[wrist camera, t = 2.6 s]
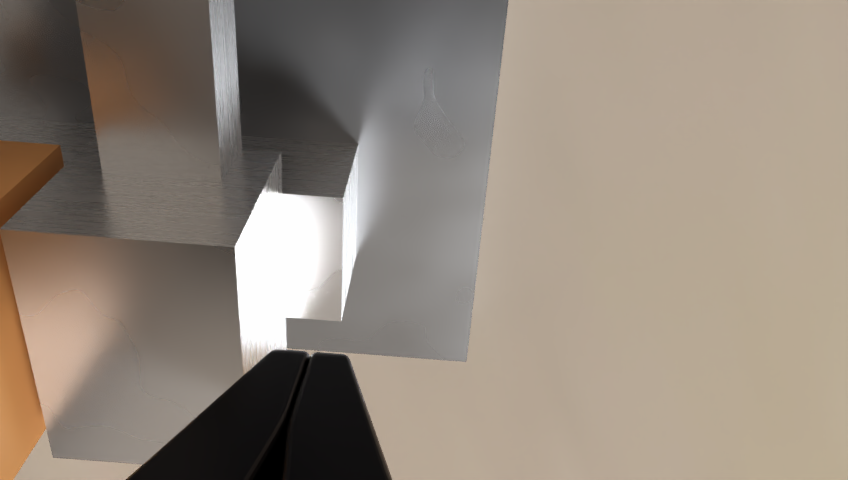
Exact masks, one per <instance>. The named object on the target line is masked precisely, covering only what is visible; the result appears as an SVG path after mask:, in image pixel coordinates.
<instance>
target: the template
mask: <svg viewBox="0 0 848 480" xmlns="http://www.w3.org/2000/svg"><path fill="white" fill-rule="evenodd" d="M507 7H508V0H0V140H2V141H15V142H28V143H41V144H54V145H60V146H61V152H62V157H63V163H64V167H63V168H62V169H61V170H60V171H59V172H58V173H57V174H56V175H55V176H54V177H53V178H52V179H51V180H50V181H48V182H47V183H46V184H45V185H44V186H43V187H42V188H41V189H40V190H39V191H38V192H37V193H36V194H35V195H34V196H33V197H32V198H31V199H30V200H29V201H28V202H27V203H26V204H25V205H24V206H23V207H22V208H21V209H20V210H19V211H18V212H17V213H16V214H14V215H13V216H12V217H11V218H10V219H9V220H8V221H7V222H6V223H5V224H4V225H3V226H2V227H1V228H0V235H1V239H2V243H3V248H4V252H5V256H6V260H7V265H8V269H9V273H10V277H11V281H12V286H13V290H14V294H15V298H16V303H17V307H18V311H19V315H20V320H21V324H22V328H23V332H24V336H25V341H26V345H27V349H28V353H29V358H30V362H31V366H32V370H33V375H34V379H35V383H36V387H37V392H38V396H39V400H40V404H41V408H42V413H43V417H44V421H45V425H46V430H47V434H48V438H49V442H50V447H51V451H52V455H53V458H66V459H79V460H92V461H105V462H118V463H131V464H144V463H145V462H146V461H147V460H149V459H150V458H151V457H152V456H153V455H154V454H155V453H156V452H158V451H159V450H160V449H161V448H162V447H163V446H164V445H165V444H167V443H168V442H169V441H170V440H171V439H172V438H173V437H174V436H176V435H177V434H178V433H179V432H180V431H181V430H182V429H183V428H185V427H186V426H187V425H188V424H189V423H190V422H191V421H192V420H194V419H195V418H196V417H197V416H198V415H199V414H200V413H201V412H203V411H204V410H205V409H206V408H207V407H208V406H209V405H210V404H212V403H213V402H214V401H215V400H216V399H217V398H218V397H219V396H221V395H222V394H223V393H224V392H225V391H226V390H227V389H228V388H230V387H231V386H232V385H233V384H234V383H235V382H236V381H237V380H239V379H240V378H241V377H242V376H243V375H244V374H245V373H246V372H248V371H249V370H250V369H251V368H252V367H253V366H254V365H255V364H257V363H258V362H259V361H260V360H261V359H262V358H263V357H264V356H266V355H267V354H268V353H269V352H270V351H272V350H276V349H282V350H287V348H292V349H305V350H318V351H332V352H345V353H358V354H371V355H384V356H397V357H410V358H423V359H436V360H449V361H462V362H466V361H467V352H468V343H469V335H470V326H471V318H472V309H473V300H474V292H475V283H476V274H477V266H478V257H479V249H480V240H481V231H482V223H483V214H484V206H485V197H486V188H487V180H488V171H489V162H490V154H491V145H492V137H493V128H494V119H495V111H496V102H497V94H498V85H499V76H500V68H501V59H502V50H503V42H504V33H505V25H506V16H507Z"/></svg>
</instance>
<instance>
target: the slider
mask: <svg viewBox="0 0 848 480" xmlns="http://www.w3.org/2000/svg"><path fill="white" fill-rule="evenodd" d="M63 167H64V163H63V157H62V152H61V146H60V145H54V144H41V143H28V142H15V141H2V140H0V228H1V227H2V226H3V225H4V224H5V223H6V222H7V221H8V220H9V219H10V218H11V217H12V216H13V215H14V214H16V213H17V212H18V211H19V210H20V209H21V208H22V207H23V206H24V205H25V204H26V203H27V202H28V201H29V200H30V199H31V198H32V197H33V196H34V195H35V194H36V193H37V192H38V191H39V190H40V189H41V188H42V187H43V186H44V185H45V184H46V183H47V182H48V181H50V180H51V179H52V178H53V177H54V176H55V175H56V174H57V173H58V172H59V171H60V170H61V169H62V168H63ZM45 429H46V425H45V421H44V417H43V413H42V408H41V404H40V400H39V396H38V392H37V387H36V383H35V379H34V375H33V370H32V366H31V362H30V358H29V353H28V349H27V345H26V341H25V336H24V332H23V328H22V324H21V320H20V315H19V311H18V307H17V303H16V298H15V294H14V290H13V286H12V281H11V277H10V273H9V269H8V265H7V260H6V256H5V252H4V248H3V243H2V239H1V235H0V480H13V479H14V478H15V476H16V474H17V473H18V471H19V470H20V468H21V467H22V465H23V464H24V462H25V460H26V459H27V457H28V456H29V454H30V453H31V451H32V450H33V448H34V446H35V445H36V443H37V442H38V440H39V439H40V437H41V435H42V434H43V432H44V431H45Z"/></svg>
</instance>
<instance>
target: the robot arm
mask: <svg viewBox="0 0 848 480" xmlns="http://www.w3.org/2000/svg"><path fill="white" fill-rule="evenodd" d="M126 480H392V478H391V475H390V472H389V469H388V466H387V464H386V461H385V458H384V455H383V452H382V449H381V447H380V444H379V441H378V438H377V435H376V432H375V430H374V427H373V424H372V421H371V418H370V415H369V413H368V410H367V407H366V404H365V401H364V398H363V396H362V393H361V390H360V387H359V384H358V381H357V379H356V376H355V373H354V370H353V367H352V364H351V362H350V359H349V358H348V356H346V355H344V354H333V353H320V352H316V353H314V354H312V355H311V356H309V354H308V353H307V352H305V351H295V350H282V349H276V350H272V351H270V352H269V353H268V354H267V355H266V356H264V357H263V358H262V359H261V360H260V361H259V362H258V363H257V364H255V365H254V366H253V367H252V368H251V369H250V370H249V371H248V372H246V373H245V374H244V375H243V376H242V377H241V378H240V379H239V380H237V381H236V382H235V383H234V384H233V385H232V386H231V387H230V388H228V389H227V390H226V391H225V392H224V393H223V394H222V395H221V396H219V397H218V398H217V399H216V400H215V401H214V402H213V403H212V404H210V405H209V406H208V407H207V408H206V409H205V410H204V411H203V412H201V413H200V414H199V415H198V416H197V417H196V418H195V419H194V420H192V421H191V422H190V423H189V424H188V425H187V426H186V427H185V428H183V429H182V430H181V431H180V432H179V433H178V434H177V435H176V436H174V437H173V438H172V439H171V440H170V441H169V442H168V443H167V444H165V445H164V446H163V447H162V448H161V449H160V450H159V451H158V452H156V453H155V454H154V455H153V456H152V457H151V458H150V459H149V460H147V461H146V462H145V463H144V464H143V465H142V466H141V467H140V468H138V469H137V470H136V471H135V472H134V473H133V474H132V475H131V476H129V477H128V478H127V479H126Z"/></svg>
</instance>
